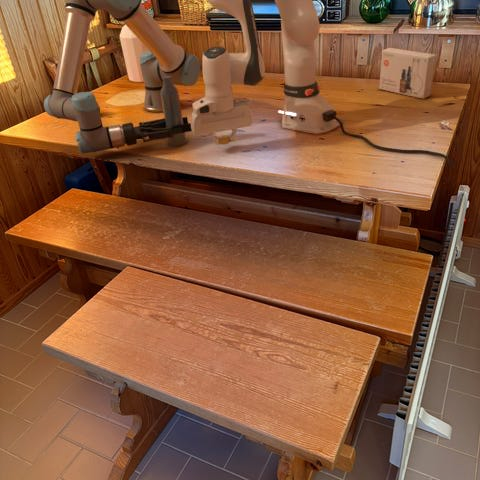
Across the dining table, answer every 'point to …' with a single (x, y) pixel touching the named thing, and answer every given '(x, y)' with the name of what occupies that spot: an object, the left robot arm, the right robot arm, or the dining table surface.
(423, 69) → the skincare box
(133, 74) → the container
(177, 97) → the bottle
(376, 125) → the dining table surface
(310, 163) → the dining table surface
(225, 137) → the cap
